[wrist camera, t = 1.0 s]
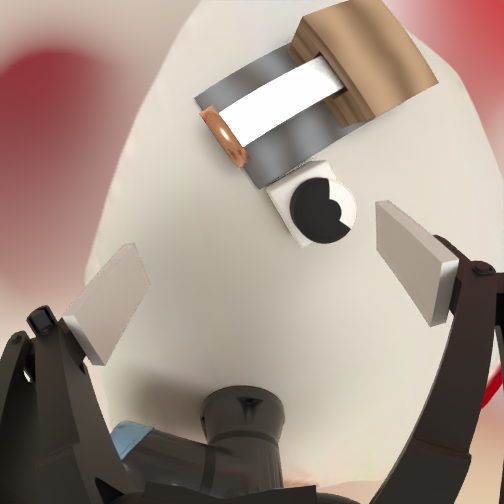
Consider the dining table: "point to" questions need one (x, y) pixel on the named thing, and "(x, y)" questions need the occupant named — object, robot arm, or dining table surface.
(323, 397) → the dining table surface
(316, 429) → the dining table surface
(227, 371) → the dining table surface
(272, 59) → the bearing block
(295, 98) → the shaft
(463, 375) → the robot arm
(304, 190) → the medicine bottle
